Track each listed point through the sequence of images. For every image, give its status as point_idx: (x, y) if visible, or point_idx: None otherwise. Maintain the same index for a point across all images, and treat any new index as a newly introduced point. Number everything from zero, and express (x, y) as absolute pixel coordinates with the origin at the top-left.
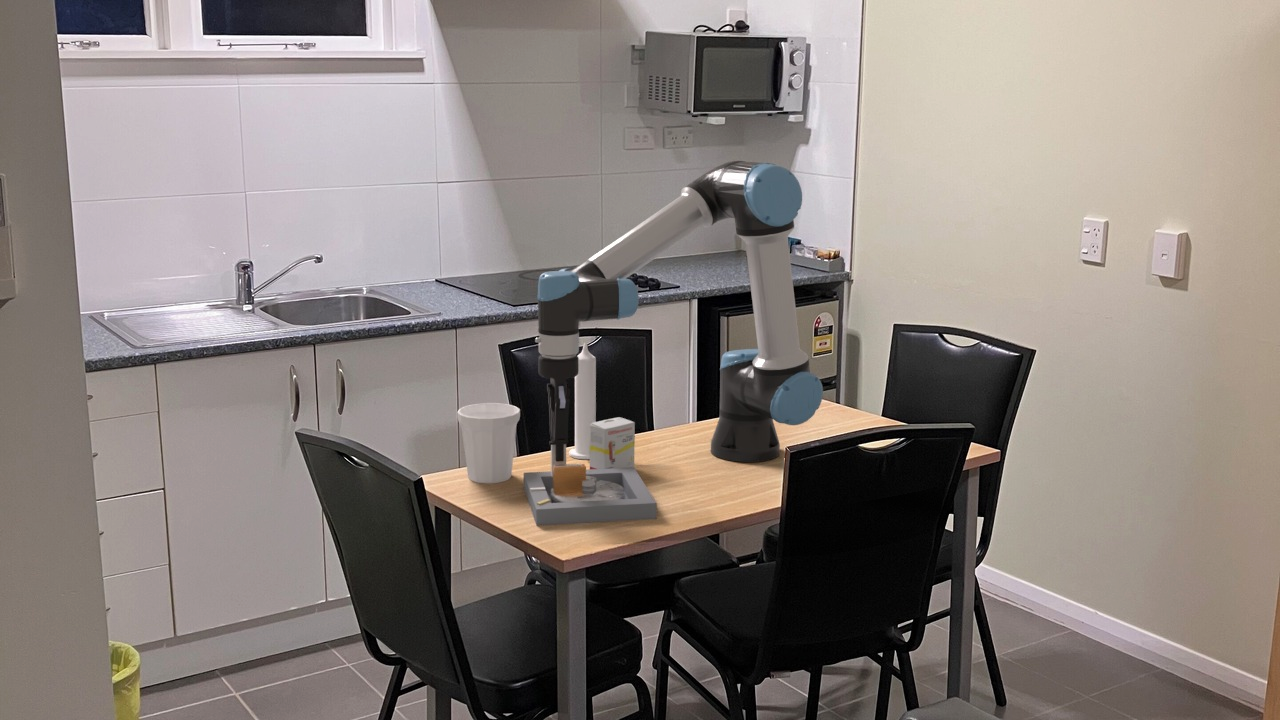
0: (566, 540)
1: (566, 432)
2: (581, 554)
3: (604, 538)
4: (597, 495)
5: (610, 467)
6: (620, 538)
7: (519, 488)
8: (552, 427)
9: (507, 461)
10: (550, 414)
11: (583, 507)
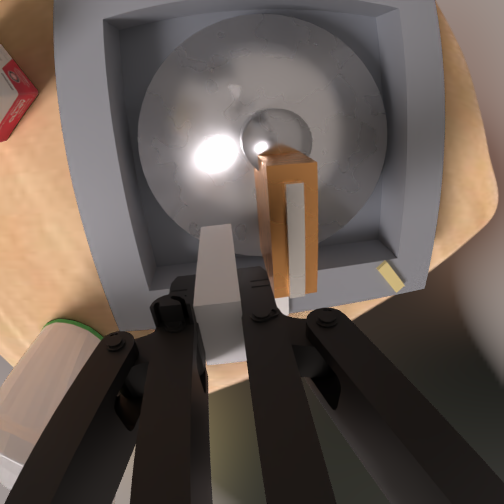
0: (443, 203)
1: (386, 363)
2: (495, 184)
3: (450, 124)
4: (322, 110)
5: (5, 79)
6: (453, 92)
7: (90, 303)
8: (207, 427)
9: (75, 369)
10: (118, 479)
11: (440, 175)
